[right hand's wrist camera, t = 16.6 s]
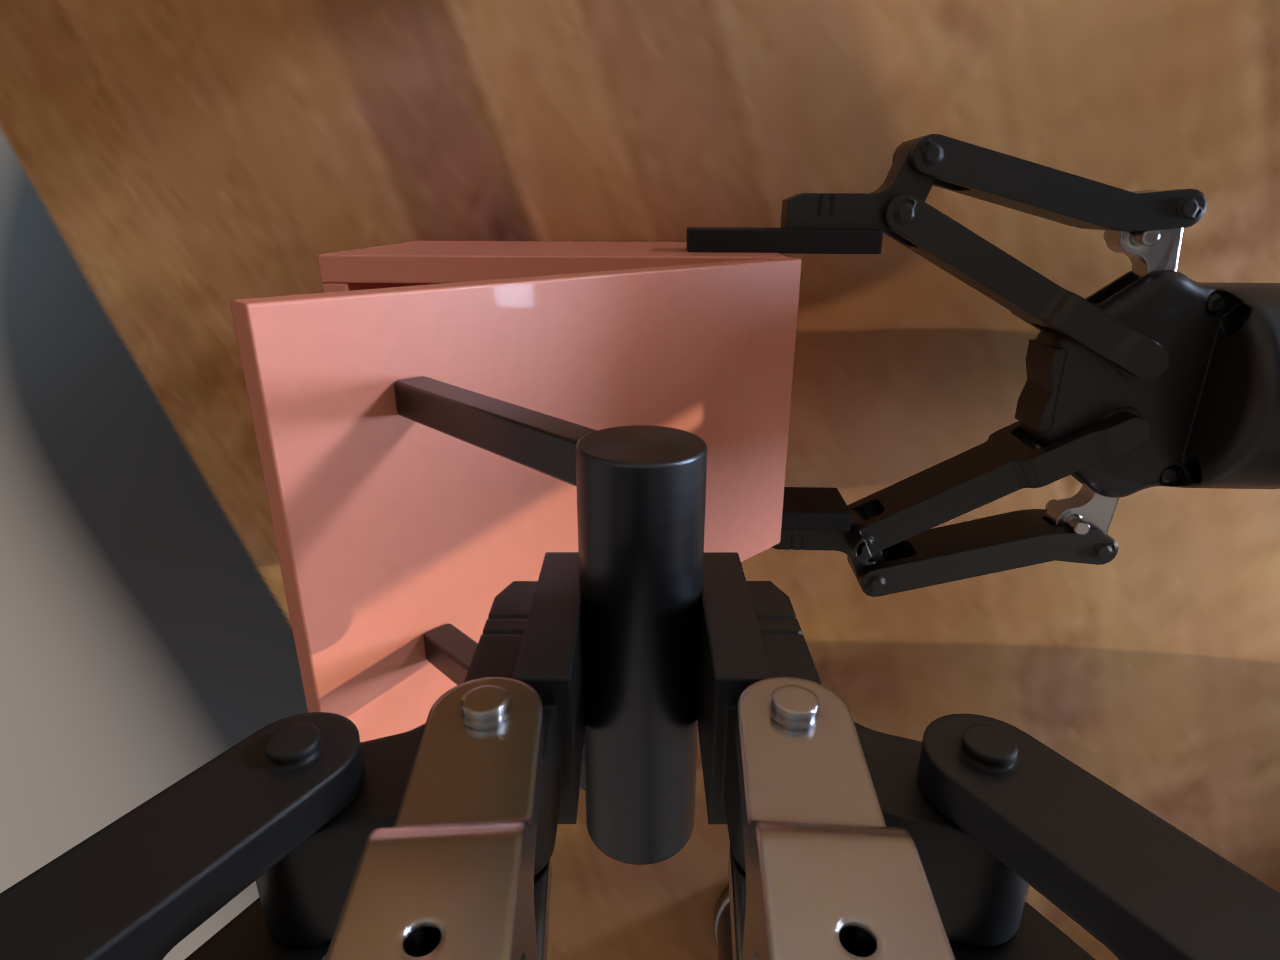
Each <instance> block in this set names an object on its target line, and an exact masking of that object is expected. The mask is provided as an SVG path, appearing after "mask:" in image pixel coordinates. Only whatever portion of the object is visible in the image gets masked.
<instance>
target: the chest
mask: <svg viewBox="0 0 1280 960" xmlns="http://www.w3.org/2000/svg"><path fill="white" fill-rule="evenodd" d="M686 245H687V242H644V241H411V242H404V243H397V244H390V245H383V246H376V247H369V248H362V249H355V250H348V251H341V252H334V253H327V254H320V255H318V263H319V269H320V276H321V281H322V282H323V284H322V289H323V293H326V292H339V291H352V290H365V289H378V288H391V287H404V286H417V285H430V284H443V283H455V282H468V281H481V280H494V279H507V278H520V277H533V276H546V275H559V274H572V273H585V272H598V271H611V270H624V269H637V268H650V267H663V266H676V265H689V264H701V263H714V262H727V261H740V260H753V259H766V258H779V257H784V258H788V257H786V256H784V255H782V254H780V253H715V252H688V251H687V248H686Z"/></svg>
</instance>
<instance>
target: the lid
mask: <svg viewBox="0 0 1280 960" xmlns="http://www.w3.org/2000/svg"><path fill="white" fill-rule="evenodd" d="M801 262H802V261H801V259H800V258H784V257H779V258H766V259H753V260H740V261H727V262H714V263H701V264H689V265H676V266H663V267H650V268H637V269H624V270H611V271H598V272H585V273H572V274H559V275H546V276H533V277H520V278H507V279H494V280H481V281H468V282H455V283H443V284H430V285H417V286H404V287H391V288H378V289H365V290H352V291H339V292H326V293H313V294H300V295H287V296H274V297H261V298H248V299H235V300H233V301H231V308H232V314H233V319H234V324H235V329H236V335H237V340H238V345H239V350H240V356H241V361H242V366H243V371H244V377H245V382H246V387H247V393H248V398H249V403H250V408H251V414H252V419H253V424H254V429H255V435H256V440H257V445H258V451H259V456H260V461H261V466H262V472H263V477H264V482H265V487H266V493H267V498H268V503H269V508H270V514H271V519H272V524H273V530H274V535H275V540H276V545H277V551H278V556H279V561H280V566H281V572H282V577H283V582H284V588H285V593H286V598H287V603H288V609H289V614H290V619H291V624H292V630H293V635H294V640H295V645H296V651H297V656H298V661H299V666H300V672H301V677H302V682H303V688H304V693H305V698H306V703H307V709H308V713H310V712H329V713H334V714H339V715H341V716H344V717H346V718H348V719H349V720H351V721H352V722H353V723H354V724H355V725H356V727H357V729H358V731H359V737H360V742H365V741H369V740H374V739H378V738H383V737H387V736H392V735H396V734H400V733H404V732H408V731H411V730H413V729H415V728H417V727H419V726H421V725H423V724H425V723H426V721H427V717H428V714H429V712H430V709H431V707H432V706H433V704H434V703H435V701H436V700H437V699H438V698H439V697H440V696H441V695H443V694H444V693H445V692H447V691H448V690H450V689H452V688H453V687H455V686H457V685H459V684H462V683H464V681H465V678H466V675H467V672H468V670H469V667H470V664H471V661H472V659H473V656H474V653H475V650H476V648H477V645H478V642H479V640H480V637H481V635H483V629H484V626H485V623H486V620H487V619H488V615H489V612H490V609H491V607H492V604H493V601H494V598H495V597H496V596H497V595H498V594H499V593H500V592H501V591H503V590H504V589H505V588H506V587H507V586H508V585H510V584H511V583H512V582H513V581H538V579H539V575H540V571H541V568H542V564H543V560H544V556H545V553H546V552H578V555H579V588H580V593H581V595H582V610H583V643H584V675H585V708H586V730H585V740H584V749H583V759H582V769H581V779H580V787H581V788H583V789H584V790H585V791H586V819H587V829H588V832H589V835H590V837H591V839H592V840H593V842H594V843H595V845H596V846H597V847H598V848H599V849H600V850H601V851H602V852H603V853H605V854H606V855H608V856H609V857H611V858H613V859H615V860H618V861H621V862H624V863H629V864H638V865H642V864H652V863H657V862H660V861H663V860H666V859H668V858H670V857H671V856H673V855H675V854H676V853H677V852H679V851H680V850H681V849H682V848H683V847H684V846H685V844H686V843H687V842H688V840H689V838H690V836H691V834H692V831H693V827H694V808H695V780H696V753H697V725H698V722H697V710H698V680H699V651H700V622H701V593H702V586H703V558H704V552H738V554H739V558H740V561H741V562H743V561H745V560H747V559H749V558H751V557H753V556H755V555H757V554H759V553H761V552H763V551H765V550H767V549H769V548H771V547H773V546H775V545H776V544H778V543H780V537H781V524H782V511H783V498H784V485H785V472H786V459H787V445H788V432H789V419H790V406H791V393H792V380H793V367H794V354H795V340H796V327H797V314H798V301H799V288H800V275H801Z"/></svg>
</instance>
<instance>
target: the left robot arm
mask: <svg viewBox="0 0 1280 960" xmlns="http://www.w3.org/2000/svg"><path fill="white" fill-rule="evenodd" d="M892 162H893V164H892V166H891V169H890V171H889V173H888V175H887V178H886V179H885V181H884V183H883V184H882V185H881V186H880V187H879V188H878V189H877V190H875V191H874V192H871V193H869V194H813V193H804V194H796V195H794V196H791V197H789V198H786V199H784V200H783V202H782V217H781V228H704V227H687V245H686V248H687V251H688V252H715V253H805V254H881V246H882V238H883V233H884V234H886V235H888V236H889V237H891V238H893V239H894V240H896V241H897V242H899V243H901V244H902V245H904V246H906V247H907V248H909V249H911V250H912V251H914V252H915V253H917V254H919V255H920V256H922V257H924V258H925V259H927V260H928V261H930V262H932V263H933V264H935V265H937V266H938V267H940V268H942V269H943V270H945V271H946V272H948V273H950V274H951V275H953V276H955V277H956V278H958V279H960V280H961V281H963V282H964V283H966V284H968V285H969V286H971V287H973V288H974V289H976V290H978V291H979V292H981V293H982V294H984V295H986V296H987V297H989V298H991V299H992V300H994V301H995V302H997V303H999V304H1000V305H1002V306H1004V307H1005V308H1007V309H1008V310H1010V311H1011V313H1013V314H1014V315H1016V316H1017V317H1019V318H1020V319H1022V320H1024V321H1025V322H1027V323H1029V324H1030V325H1032V326H1034V327H1035V328H1037V329H1038V330H1040V333H1039V334H1038V336H1037V338H1036V339H1029V345H1028V350H1027V355H1026V367H1027V382H1026V384H1025V386H1024V388H1023V390H1022V392H1021V395H1020V397H1019V399H1018V404H1017V409H1016V414H1015V418H1016V419H1017V420H1019V421H1018V422H1016V423H1013V424H1011V425H1009V426H1007V427H1005V428H1003V429H1000V430H998V431H996V432H994V433H993V434H991V435H990V436H989V439H988V440H987V441H986V442H985V443H983V444H981V445H978V446H976V447H974V448H972V449H970V450H967V451H965V452H963V453H961V454H959V455H957V456H954V457H952V458H950V459H948V460H946V461H943V462H941V463H939V464H937V465H935V466H933V467H930V468H928V469H926V470H924V471H922V472H919V473H917V474H915V475H913V476H911V477H909V478H906V479H904V480H902V481H900V482H898V483H895V484H893V485H891V486H889V487H887V488H885V489H882V490H880V491H878V492H876V493H874V494H871V495H869V496H867V497H865V498H863V499H861V500H858V501H856V502H854V503H852V504H850V505H846V503H845V501H844V500H843V498H842V496H841V494H840V493H839V491H838V489H837V488H809V487H784V498H783V511H782V524H781V537H780V543H778V544H776V545H775V546H773V547H772V548H775V549H788V550H790V549H793V550H801V549H803V550H836V551H841V552H844V553H846V554H847V556H848V562H849V564H850V566H851V568H852V570H853V572H854V574H855V576H856V578H857V580H858V582H859V584H860V586H861V588H862V590H863V592H864V593H866V594H867V595H869V596H872V597H875V596H883V595H888V594H893V593H897V592H902V591H907V590H912V589H917V588H922V587H927V586H932V585H937V584H941V583H946V582H951V581H956V580H961V579H966V578H971V577H976V576H981V575H986V574H990V573H995V572H1000V571H1005V570H1010V569H1015V568H1020V567H1025V566H1030V565H1034V564H1039V563H1044V562H1049V561H1054V560H1057V561H1067V562H1077V563H1087V564H1097V565H1099V564H1105V563H1108V562H1110V561H1111V560H1112V559H1114V558H1115V556H1116V554H1117V553H1118V544H1117V542H1116V541H1115V540H1114V539H1113V538H1112V537H1110V536H1109V535H1108V534H1107V531H1108V528H1109V526H1110V523H1111V520H1112V517H1113V514H1114V511H1115V508H1116V505H1117V503H1118V500H1119V497H1125V496H1128V495H1131V494H1133V493H1135V492H1137V491H1140V490H1143V489H1146V488H1149V487H1154V486H1169V487H1183V488H1233V489H1280V283H1197V282H1195V281H1193V280H1191V279H1189V278H1188V277H1187V276H1185V275H1184V274H1182V273H1180V272H1177V264H1178V258H1179V252H1180V246H1181V239H1182V233H1183V228H1186V227H1189V226H1192V225H1194V224H1195V223H1197V222H1198V221H1199V220H1200V219H1201V217H1202V216H1203V215H1204V213H1205V210H1206V207H1207V206H1206V198H1205V196H1204V194H1203V193H1202V192H1200V191H1199V190H1194V189H1177V190H1147V191H1135V192H1129V191H1126V190H1123V189H1119V188H1116V187H1113V186H1109V185H1106V184H1103V183H1099V182H1096V181H1093V180H1089V179H1086V178H1083V177H1079V176H1076V175H1073V174H1069V173H1066V172H1063V171H1059V170H1056V169H1053V168H1049V167H1046V166H1043V165H1039V164H1036V163H1033V162H1029V161H1026V160H1023V159H1019V158H1016V157H1013V156H1009V155H1006V154H1003V153H999V152H996V151H993V150H989V149H986V148H983V147H979V146H976V145H973V144H969V143H966V142H963V141H959V140H956V139H953V138H949V137H946V136H943V135H939V134H931V135H927V136H923V137H920V138H916V139H912V140H909V141H906V142H903V143H902V144H901V145H900V146H898V147H897V149H896V151H895V152H894V154H893V160H892ZM932 185H934V186H937V187H941V188H944V189H947V190H951V191H954V192H957V193H961V194H964V195H968V196H971V197H974V198H978V199H981V200H985V201H988V202H991V203H995V204H998V205H1001V206H1005V207H1008V208H1012V209H1015V210H1018V211H1022V212H1025V213H1029V214H1032V215H1035V216H1039V217H1042V218H1045V219H1049V220H1052V221H1056V222H1059V223H1062V224H1066V225H1069V226H1074V227H1078V228H1084V229H1096V230H1105V232H1104V240H1105V241H1106V244H1107V246H1108V248H1109V249H1110V250H1112V251H1113V252H1117V253H1122V254H1125V255H1126V256H1128V257H1129V259H1130V260H1131V263H1132V271H1130V272H1128V273H1126V274H1124V275H1123V276H1121V277H1119V278H1118V279H1116V280H1115V281H1113V282H1111V283H1110V284H1108V285H1107V286H1105V287H1103V288H1102V289H1100V290H1099V291H1097V292H1095V293H1094V294H1092V295H1091V296H1089V297H1087V298H1086V299H1084V298H1082V297H1080V296H1079V295H1077V294H1075V293H1072V292H1070V291H1068V290H1065V289H1063V288H1062V287H1060V286H1058V285H1057V284H1055V283H1053V282H1052V281H1050V280H1049V279H1047V278H1045V277H1044V276H1042V275H1041V274H1039V273H1037V272H1036V271H1034V270H1033V269H1031V268H1029V267H1028V266H1026V265H1025V264H1023V263H1021V262H1020V261H1018V260H1017V259H1015V258H1013V257H1012V256H1010V255H1009V254H1007V253H1005V252H1004V251H1002V250H1001V249H999V248H997V247H996V246H994V245H993V244H991V243H989V242H988V241H986V240H985V239H983V238H981V237H980V236H978V235H977V234H975V233H973V232H972V231H970V230H969V229H967V228H965V227H964V226H962V225H961V224H959V223H957V222H956V221H954V220H953V219H951V218H949V217H948V216H946V215H945V214H943V213H941V212H940V211H938V210H937V209H935V208H933V207H932V206H930V205H929V204H927V203H925V200H926V198H927V196H928V193H929V191H930V189H931V187H932ZM1037 448H1038V449H1037ZM1070 474H1071V475H1072V476H1073V477H1074V478H1076V479H1077V480H1078V481H1079V482H1081V483H1082V484H1083V485H1082V487H1081V489H1080V491H1079V492H1078V493H1077V494H1076V495H1074V496H1073V497H1070V498H1067V499H1060V500H1054V499H1053V500H1050V501H1049V502H1047V504H1046V510H1044V509H1029V510H1020V511H1014V512H1009V513H1004V514H999V515H995V516H990V517H985V518H981V519H976V520H971V521H966V522H962V523H957V524H952V525H948V526H943V527H938V528H934V529H931V528H933V527H935V526H938V525H940V524H942V523H944V522H947V521H949V520H951V519H953V518H956V517H958V516H960V515H962V514H965V513H967V512H969V511H972V510H974V509H976V508H978V507H981V506H983V505H985V504H987V503H990V502H992V501H994V500H996V499H999V498H1001V497H1003V496H1006V495H1008V494H1010V493H1012V492H1015V491H1017V490H1019V489H1022V488H1038V487H1042V486H1045V485H1048V484H1050V483H1052V482H1054V481H1057V480H1059V479H1061V478H1064V477H1066V476H1068V475H1070ZM928 529H929V530H928Z"/></svg>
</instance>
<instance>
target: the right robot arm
mask: <svg viewBox="0 0 1280 960" xmlns="http://www.w3.org/2000/svg"><path fill="white" fill-rule="evenodd" d="M697 722H698V731H699V740H700V749H701V759H702V768H703V777H704V786H705V795H706V804H707V814H708V823H709V824H728V831H729V839H730V853H729V871H728V877H729V887H728V888H727V889H726V890H725V891H724V893H723V894H722V895H721V897H720V899H719V901H718V903H717V905H716V909H715V914H714V926H715V938H716V942H717V946H718V960H1095V959H1094V958H1093V957H1092V956H1090V955H1089V954H1088V953H1087V952H1086V951H1084V950H1083V949H1082V948H1081V947H1080V946H1078V945H1077V944H1076V943H1075V942H1074V941H1072V940H1071V939H1070V938H1069V937H1068V936H1066V935H1065V934H1064V933H1063V932H1062V931H1060V930H1059V929H1058V928H1057V927H1056V926H1054V925H1053V924H1052V923H1051V922H1050V921H1048V920H1047V919H1046V918H1045V917H1044V916H1042V915H1041V914H1040V913H1039V912H1038V911H1036V910H1035V909H1034V908H1033V907H1032V906H1030V905H1029V904H1028V903H1027V902H1026V901H1025V900H1026V896H1027V892H1028V888H1029V884H1030V885H1031V886H1032V887H1033V888H1035V889H1036V890H1037V891H1038V892H1040V893H1041V894H1042V895H1043V896H1044V897H1046V898H1047V899H1048V900H1049V901H1051V902H1052V903H1053V904H1054V905H1056V906H1057V907H1058V908H1059V909H1061V910H1062V911H1063V912H1064V913H1065V914H1067V915H1068V916H1069V917H1070V918H1072V919H1073V920H1074V921H1075V922H1077V923H1078V924H1079V925H1080V926H1082V927H1083V928H1084V929H1085V930H1086V931H1088V932H1089V933H1090V934H1091V935H1093V936H1094V937H1095V938H1096V939H1098V940H1099V941H1100V942H1101V943H1103V944H1104V945H1105V946H1106V947H1107V948H1108V949H1110V950H1111V951H1112V952H1113V953H1114V954H1115V955H1116V957H1117V958H1118V959H1119V960H1280V893H1278V892H1276V891H1275V890H1273V889H1272V888H1270V887H1269V886H1267V885H1265V884H1264V883H1262V882H1261V881H1259V880H1257V879H1256V878H1254V877H1253V876H1251V875H1250V874H1248V873H1246V872H1245V871H1243V870H1242V869H1240V868H1238V867H1237V866H1235V865H1234V864H1232V863H1231V862H1229V861H1227V860H1226V859H1224V858H1223V857H1221V856H1219V855H1218V854H1216V853H1215V852H1213V851H1212V850H1210V849H1208V848H1207V847H1205V846H1204V845H1202V844H1200V843H1199V842H1197V841H1196V840H1194V839H1193V838H1191V837H1189V836H1188V835H1186V834H1185V833H1183V832H1182V831H1180V830H1178V829H1177V828H1175V827H1174V826H1172V825H1170V824H1169V823H1167V822H1166V821H1164V820H1163V819H1161V818H1159V817H1158V816H1156V815H1155V814H1153V813H1151V812H1150V811H1148V810H1147V809H1145V808H1144V807H1142V806H1140V805H1139V804H1137V803H1136V802H1134V801H1132V800H1131V799H1129V798H1128V797H1126V796H1125V795H1123V794H1121V793H1120V792H1118V791H1117V790H1115V789H1114V788H1112V787H1110V786H1109V785H1107V784H1106V783H1104V782H1102V781H1101V780H1099V779H1098V778H1096V777H1095V776H1093V775H1091V774H1090V773H1088V772H1087V771H1085V770H1083V769H1082V768H1080V767H1079V766H1077V765H1076V764H1074V763H1072V762H1071V761H1069V760H1068V759H1066V758H1064V757H1063V756H1061V755H1060V754H1058V753H1057V752H1055V751H1053V750H1052V749H1050V748H1049V747H1047V746H1045V745H1044V744H1042V743H1041V742H1039V741H1038V740H1036V739H1034V738H1033V737H1031V736H1030V735H1028V734H1027V733H1025V732H1023V731H1021V730H1020V729H1018V728H1016V727H1014V726H1012V725H1010V724H1007V723H1005V722H1002V721H999V720H997V719H994V718H990V717H986V716H981V715H974V714H952V715H947V716H943V717H941V718H938V719H936V720H934V721H933V722H931V723H930V724H929V725H928V726H927V728H926V730H925V732H924V736H923V742H920V741H915V740H911V739H906V738H902V737H897V736H893V735H888V734H884V733H881V732H877V731H874V730H871V729H868V728H866V727H864V726H861V725H859V724H857V723H855V722H854V721H853V718H852V715H851V712H850V710H849V707H848V706H847V704H846V703H845V702H844V700H843V699H842V698H841V697H840V696H839V695H837V694H836V693H835V692H833V691H832V690H830V689H828V688H827V687H825V686H823V685H822V684H821V682H820V679H819V676H818V674H817V671H816V668H815V666H814V663H813V660H812V658H811V655H810V652H809V650H808V647H807V644H806V642H805V639H804V636H803V635H802V634H801V628H800V626H799V623H798V620H797V619H796V615H795V612H794V610H793V607H792V604H791V602H790V599H789V597H788V596H787V595H786V594H785V593H783V592H782V591H781V590H780V589H779V588H778V587H776V586H775V585H774V584H773V583H772V582H771V581H746V579H745V576H744V572H743V568H742V565H741V561H740V558H739V554H738V552H704V558H703V586H702V593H701V622H700V651H699V680H698V710H697ZM585 730H586V708H585V675H584V643H583V610H582V595H581V593H580V588H579V555H578V552H546V553H545V556H544V560H543V564H542V568H541V571H540V575H539V579H538V581H513V582H512V583H511V584H510V585H508V586H507V587H506V588H505V589H504V590H503V591H501V592H500V593H499V594H498V595H497V596H496V597H495V598H494V601H493V604H492V607H491V609H490V612H489V615H488V619H487V620H486V623H485V626H484V629H483V635H481V637H480V640H479V642H478V645H477V648H476V650H475V653H474V656H473V659H472V661H471V664H470V667H469V670H468V672H467V675H466V678H465V681H464V683H462V684H459V685H457V686H455V687H453V688H452V689H450V690H448V691H447V692H445V693H444V694H443V695H441V696H440V697H439V698H438V699H437V700H436V701H435V703H434V704H433V706H432V707H431V709H430V712H429V714H428V717H427V721H426V724H425V725H423V726H421V727H419V728H416V729H413V730H411V731H408V732H404V733H400V734H396V735H392V736H387V737H383V738H378V739H374V740H369V741H365V742H360V737H359V731H358V729H357V727H356V725H355V724H354V723H353V722H352V721H351V720H349V719H348V718H346V717H344V716H341V715H339V714H334V713H329V712H310V713H304V714H298V715H294V716H290V717H287V718H284V719H281V720H278V721H276V722H274V723H272V724H269V725H267V726H265V727H264V728H262V729H260V730H258V731H257V732H255V733H254V734H252V735H250V736H249V737H247V738H246V739H244V740H242V741H241V742H239V743H238V744H236V745H235V746H233V747H231V748H230V749H228V750H227V751H225V752H224V753H222V754H220V755H219V756H217V757H216V758H214V759H212V760H211V761H209V762H208V763H206V764H205V765H203V766H201V767H200V768H198V769H197V770H195V771H193V772H192V773H190V774H189V775H187V776H185V777H184V778H182V779H181V780H179V781H178V782H176V783H174V784H173V785H171V786H170V787H168V788H167V789H165V790H163V791H162V792H160V793H159V794H157V795H155V796H154V797H152V798H151V799H149V800H148V801H146V802H144V803H143V804H141V805H140V806H138V807H137V808H135V809H133V810H132V811H130V812H129V813H127V814H125V815H124V816H122V817H121V818H119V819H118V820H116V821H114V822H113V823H111V824H110V825H108V826H106V827H105V828H103V829H102V830H100V831H99V832H97V833H95V834H94V835H92V836H91V837H89V838H87V839H86V840H84V841H83V842H81V843H80V844H78V845H76V846H75V847H73V848H72V849H70V850H68V851H67V852H65V853H64V854H62V855H61V856H59V857H57V858H56V859H54V860H53V861H51V862H49V863H48V864H46V865H45V866H43V867H42V868H40V869H38V870H37V871H35V872H34V873H32V874H30V875H29V876H27V877H26V878H24V879H23V880H21V881H19V882H18V883H16V884H15V885H13V886H12V887H10V888H8V889H7V890H5V891H4V892H2V893H0V960H162V959H163V958H164V957H165V956H166V954H167V953H168V952H169V951H170V950H171V949H172V948H173V947H174V946H175V945H177V944H178V943H179V942H180V941H181V940H182V939H184V938H185V937H186V936H187V935H189V934H190V933H191V932H192V931H194V930H195V929H196V928H197V927H198V926H200V925H201V924H202V923H203V922H205V921H206V920H207V919H208V918H210V917H211V916H212V915H213V914H215V913H216V912H217V911H218V910H219V909H221V908H222V907H223V906H224V905H226V904H227V903H228V902H229V901H231V900H232V899H233V898H234V897H236V896H237V895H238V894H239V893H240V892H242V891H243V890H244V889H245V888H247V887H248V886H249V885H250V884H252V883H253V882H254V881H255V880H256V884H257V888H258V892H259V896H260V897H259V898H258V899H257V900H256V901H255V902H253V903H252V904H251V905H250V906H248V907H247V908H246V909H245V910H244V911H242V912H241V913H240V914H239V915H238V916H236V917H235V918H234V919H233V920H232V921H230V922H229V923H228V924H227V925H226V926H224V927H223V928H222V929H221V930H220V931H218V932H217V933H216V934H215V935H214V936H212V937H211V938H210V939H209V940H208V941H206V942H205V943H204V944H203V945H202V946H201V947H199V948H198V949H197V950H196V951H194V952H193V953H192V954H191V955H190V956H189V957H187V958H186V959H185V960H547V950H548V931H549V913H550V894H551V875H552V874H551V855H552V853H553V850H554V846H555V838H556V831H557V824H576V819H577V809H578V799H579V789H580V779H581V769H582V759H583V749H584V740H585Z"/></svg>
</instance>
